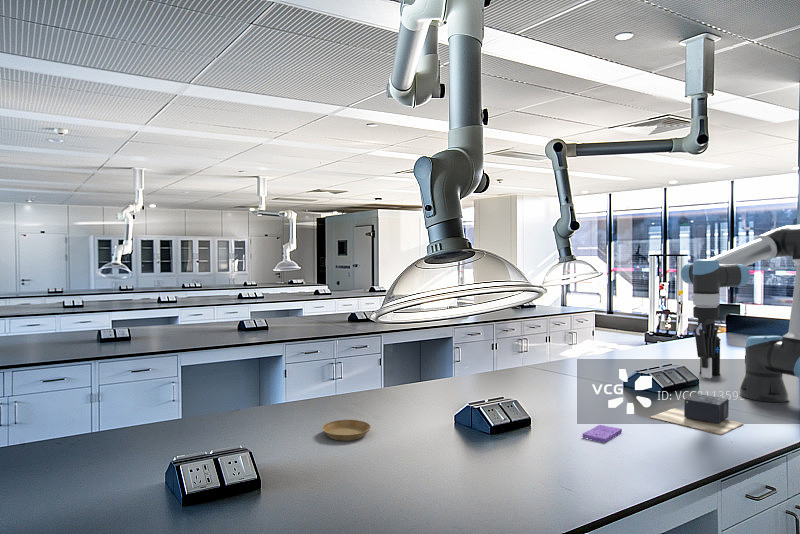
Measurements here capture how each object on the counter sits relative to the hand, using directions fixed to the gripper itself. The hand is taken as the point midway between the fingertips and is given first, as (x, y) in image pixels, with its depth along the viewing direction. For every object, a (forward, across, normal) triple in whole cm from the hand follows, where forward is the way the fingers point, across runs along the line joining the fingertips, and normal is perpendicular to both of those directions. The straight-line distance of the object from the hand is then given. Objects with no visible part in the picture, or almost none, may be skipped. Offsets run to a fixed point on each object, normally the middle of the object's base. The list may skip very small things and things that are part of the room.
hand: (706, 377), depth 184 cm
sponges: (+13, +43, -11) cm, 46 cm away
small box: (+10, -3, 0) cm, 10 cm away
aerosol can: (+15, -67, -28) cm, 74 cm away
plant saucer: (+11, +103, -60) cm, 120 cm away
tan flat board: (+13, +7, 0) cm, 15 cm away
